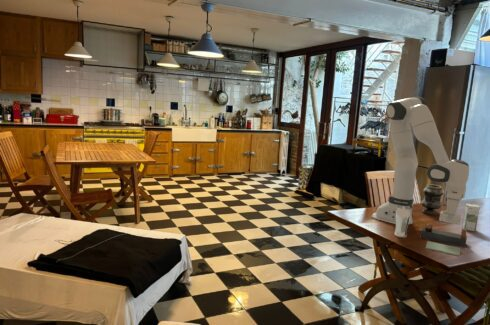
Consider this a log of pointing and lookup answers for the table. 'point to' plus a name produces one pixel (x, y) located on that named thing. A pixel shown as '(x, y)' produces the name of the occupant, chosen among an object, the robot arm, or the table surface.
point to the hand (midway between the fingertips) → (449, 218)
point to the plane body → (444, 236)
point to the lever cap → (455, 218)
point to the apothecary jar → (432, 198)
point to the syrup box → (471, 217)
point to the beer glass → (402, 220)
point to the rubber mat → (443, 248)
